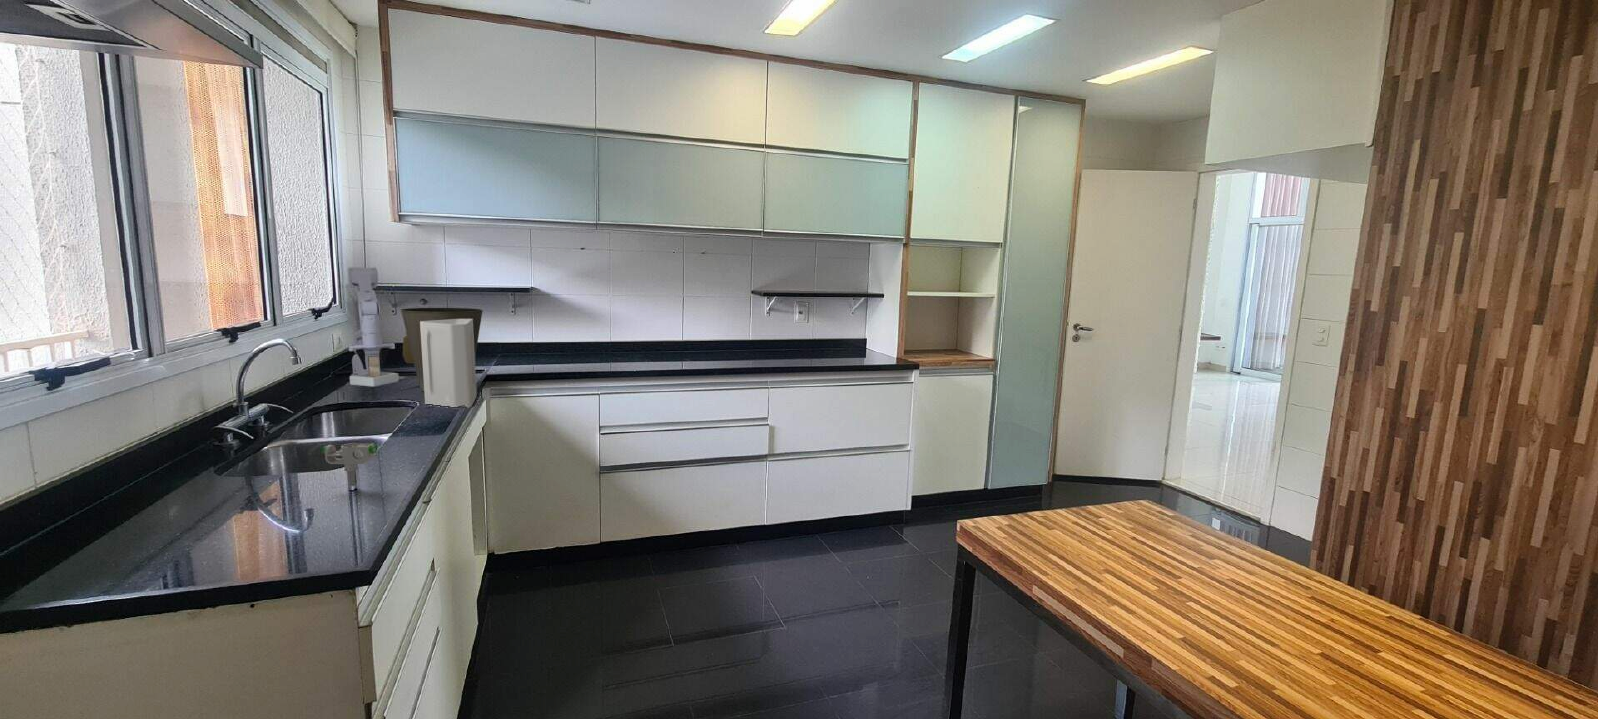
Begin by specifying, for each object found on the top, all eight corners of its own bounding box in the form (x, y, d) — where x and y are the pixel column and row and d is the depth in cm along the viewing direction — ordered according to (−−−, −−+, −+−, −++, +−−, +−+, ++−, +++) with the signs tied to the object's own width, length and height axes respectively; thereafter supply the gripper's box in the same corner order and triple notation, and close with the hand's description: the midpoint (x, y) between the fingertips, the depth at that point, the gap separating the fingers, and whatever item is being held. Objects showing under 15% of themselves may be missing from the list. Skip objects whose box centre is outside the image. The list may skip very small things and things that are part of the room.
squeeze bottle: (427, 362, 301) (425, 323, 298) (412, 364, 294) (409, 325, 291) (414, 361, 304) (412, 322, 301) (398, 363, 296) (396, 324, 294)
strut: (367, 382, 249) (365, 356, 247) (380, 381, 252) (378, 355, 250) (368, 384, 245) (366, 357, 244) (382, 382, 248) (380, 356, 247)
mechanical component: (332, 487, 142) (328, 443, 141) (381, 487, 143) (378, 443, 142) (323, 492, 139) (319, 447, 138) (374, 491, 140) (370, 447, 139)
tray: (350, 386, 245) (349, 376, 244) (375, 381, 255) (375, 371, 255) (374, 388, 242) (373, 378, 241) (398, 383, 253) (398, 373, 252)
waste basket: (488, 382, 260) (485, 307, 255) (484, 392, 241) (480, 311, 237) (411, 385, 250) (406, 307, 246) (400, 396, 232) (394, 311, 227)
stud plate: (376, 380, 256) (376, 373, 256) (394, 377, 264) (393, 370, 264) (393, 382, 254) (393, 375, 254) (410, 378, 262) (409, 371, 262)
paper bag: (430, 397, 230) (425, 319, 226) (477, 395, 235) (473, 318, 231) (420, 410, 212) (414, 324, 208) (470, 407, 217) (466, 324, 213)
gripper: (349, 335, 238) (352, 371, 240) (395, 333, 247) (397, 368, 249) (346, 333, 243) (349, 369, 245) (391, 331, 253) (394, 365, 255)
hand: (373, 368), depth 248 cm, fingers open, 5 cm apart
